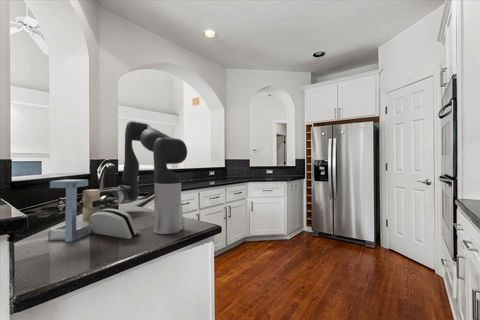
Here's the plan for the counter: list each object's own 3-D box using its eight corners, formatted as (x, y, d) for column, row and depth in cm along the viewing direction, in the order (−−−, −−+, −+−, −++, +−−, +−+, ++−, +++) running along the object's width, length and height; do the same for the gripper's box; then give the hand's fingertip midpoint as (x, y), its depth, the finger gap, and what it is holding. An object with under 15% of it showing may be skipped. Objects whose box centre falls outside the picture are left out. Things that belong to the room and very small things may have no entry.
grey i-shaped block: (92, 232, 84) (92, 179, 84) (71, 242, 74) (72, 181, 74) (67, 232, 84) (68, 178, 84) (42, 242, 73) (44, 181, 74)
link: (99, 220, 93) (99, 189, 93) (93, 223, 89) (93, 190, 89) (89, 220, 93) (89, 189, 93) (82, 223, 89) (82, 190, 89)
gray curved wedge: (141, 234, 82) (133, 208, 79) (130, 243, 78) (122, 216, 75) (106, 229, 88) (98, 204, 85) (94, 236, 84) (85, 211, 81)
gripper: (94, 189, 105) (67, 194, 88) (127, 189, 105) (106, 194, 88) (94, 206, 105) (66, 214, 88) (127, 206, 105) (106, 215, 88)
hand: (87, 204), depth 88 cm, fingers closed on link, 4 cm apart
